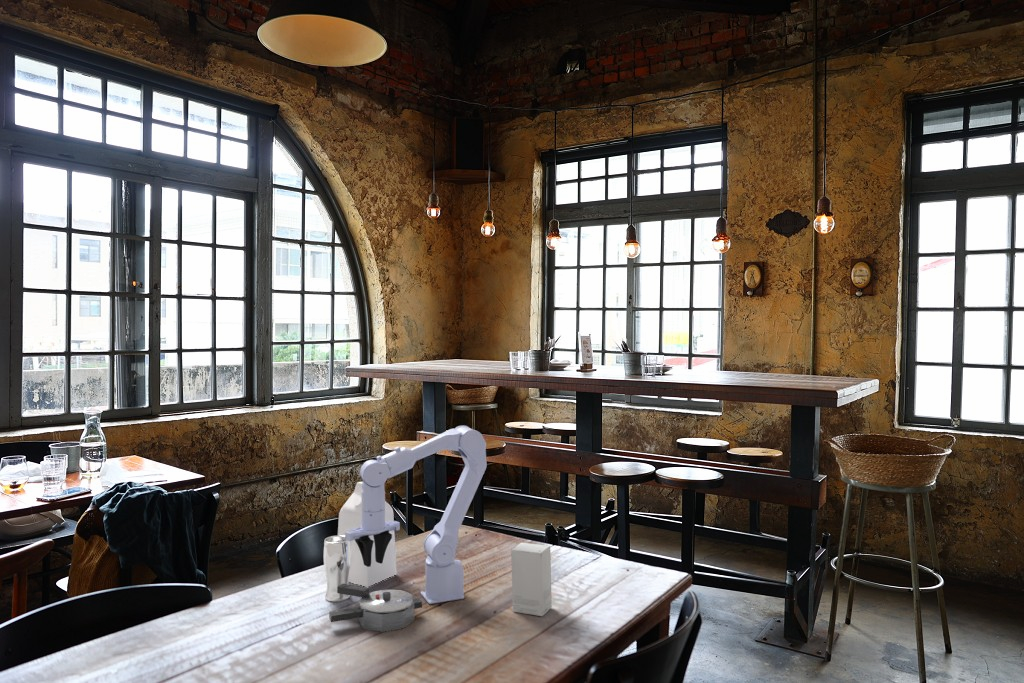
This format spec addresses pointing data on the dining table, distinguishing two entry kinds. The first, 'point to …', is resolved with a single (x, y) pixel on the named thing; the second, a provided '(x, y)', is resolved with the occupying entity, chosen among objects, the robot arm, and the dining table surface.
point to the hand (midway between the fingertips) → (373, 564)
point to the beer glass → (336, 565)
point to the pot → (378, 617)
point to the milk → (353, 519)
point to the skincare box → (531, 579)
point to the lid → (378, 598)
